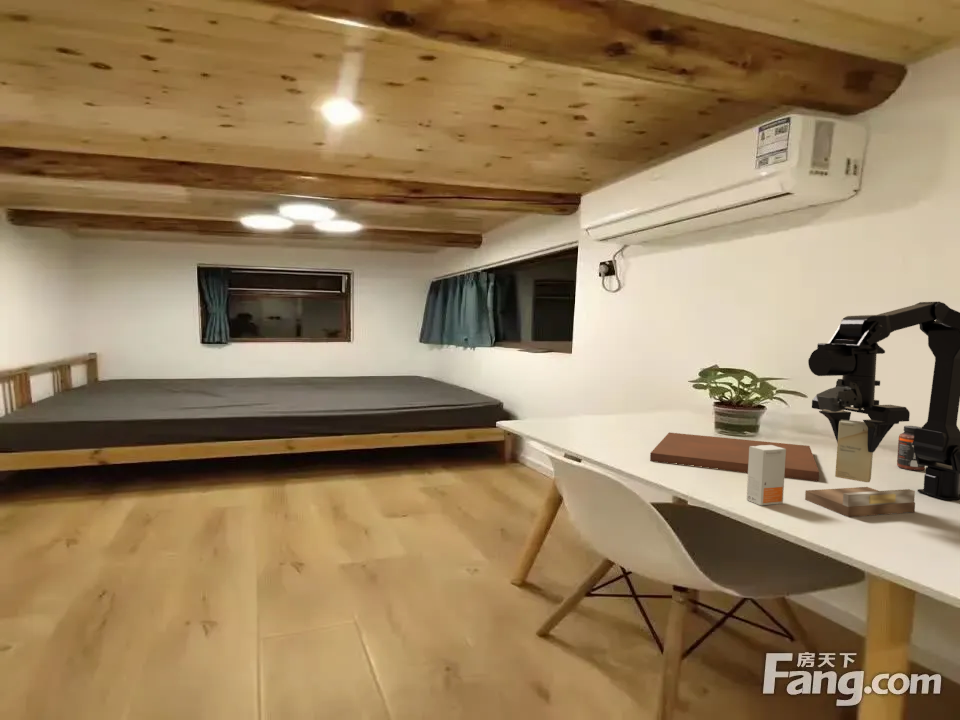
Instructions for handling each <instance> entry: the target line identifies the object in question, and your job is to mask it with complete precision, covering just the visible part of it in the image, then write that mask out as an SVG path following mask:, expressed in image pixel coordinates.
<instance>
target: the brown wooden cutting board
mask: <svg viewBox="0 0 960 720" xmlns="http://www.w3.org/2000/svg"><path fill="white" fill-rule="evenodd" d="M759 445H774V446H777V447H781V448H784V449H786V457H785V474H784V478H785V479H786V478H789V479H794V480H795V479H796V480H804V481H813V482H819V481H820V471H819V468H818V465H817V462H816V460H815V456H814V454H813V452H812V449H811V447H810V445H802V444H794V443H784V442H783V443H782V442H772V441H761V440H751V439H743V438H742V439H741V438H731V437H730V438H728V437H718V436H708V435H699V434H691V433H690V434H689V433H679V432H668V433H667V434H666V435H665V436H664V438H662V440H661V441H660V442H659V443H658V444H656V446H655V447H654V448H653V449H652V450H651V452H650V457H649V462H654V461H658V462H657V463H662V462H668V463H667V464H670V463H677V464H676V465H679V464H684V465H683V466H687V465H694V466H693V467H695V466H702V467H701V468H703V467H709V468H708V469H712V468H718V469H717V470H720V469H725V470H724V471H728V470H732V471H731V472H737V471H739V472H740V473H745V472H746V473H745V474H748V462H749V447H750V446H759Z"/></svg>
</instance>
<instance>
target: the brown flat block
mask: <svg viewBox="0 0 960 720" xmlns="http://www.w3.org/2000/svg"><path fill="white" fill-rule="evenodd" d="M915 495H916V491H915V490H914V489H909V488H908V489H907V488H905V489H904V488H903V489H890V490H878V489H876V488H872V487H868V486H857V487H841V488H826V489H810V490H805V494H804V500H806V501H808V502H811V503H812V504H815V505H818V506H821V507H823V508H826V509H827V510H830V511H832V512H835V513H838V514H839V515H843V516H844V517H847V518H850V517H851V518H853V517H854V518H856V517H864V516H865V517H867V515H869V516H879V515H878V514H883V515H892V514H891V513H897V514H904V513H903V512H911V513H915V508H916V502H915Z"/></svg>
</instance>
